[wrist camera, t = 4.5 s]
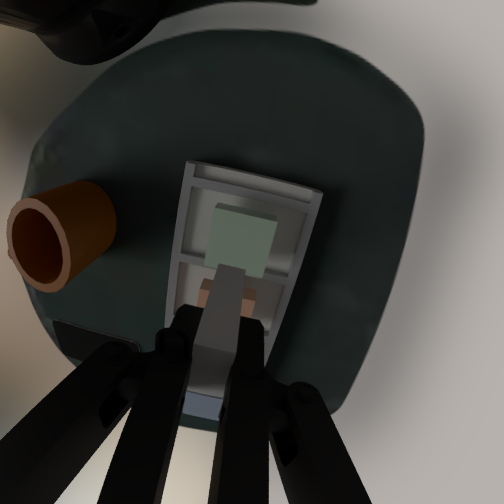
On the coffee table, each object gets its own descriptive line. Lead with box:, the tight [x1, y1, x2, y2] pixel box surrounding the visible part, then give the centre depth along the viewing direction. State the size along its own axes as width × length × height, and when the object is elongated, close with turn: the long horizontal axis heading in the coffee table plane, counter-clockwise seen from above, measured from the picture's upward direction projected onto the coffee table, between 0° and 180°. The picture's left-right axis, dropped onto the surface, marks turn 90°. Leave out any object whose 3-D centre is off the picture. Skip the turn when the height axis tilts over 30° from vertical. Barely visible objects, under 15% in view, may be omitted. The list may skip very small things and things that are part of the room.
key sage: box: [204, 202, 278, 279], centre depth 22 cm, size 5×5×2 cm
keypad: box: [165, 160, 323, 366], centre depth 29 cm, size 31×12×3 cm, turn 167°
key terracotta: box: [197, 278, 256, 318], centre depth 25 cm, size 5×5×2 cm
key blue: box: [183, 390, 224, 421], centre depth 30 cm, size 5×5×2 cm
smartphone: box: [53, 319, 140, 361], centre depth 34 cm, size 7×1×15 cm
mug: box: [6, 180, 116, 293], centre depth 23 cm, size 9×12×9 cm
